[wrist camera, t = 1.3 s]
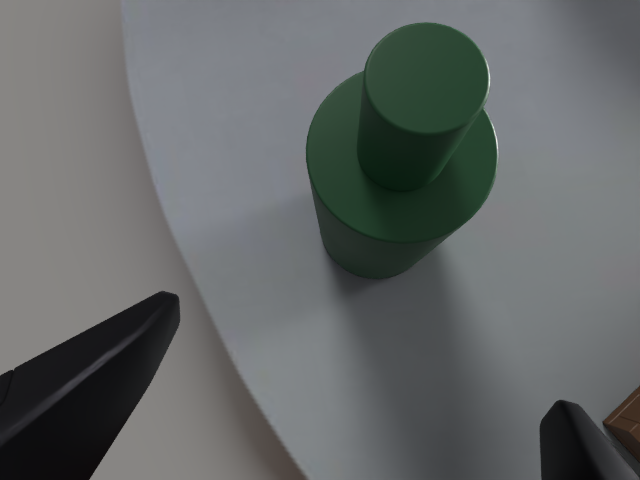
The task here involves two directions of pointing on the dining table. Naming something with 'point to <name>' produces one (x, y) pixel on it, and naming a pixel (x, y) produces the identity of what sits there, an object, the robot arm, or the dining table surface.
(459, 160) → the green bottle
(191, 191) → the dining table surface
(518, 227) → the dining table surface
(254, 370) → the dining table surface
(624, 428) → the tray
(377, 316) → the dining table surface
